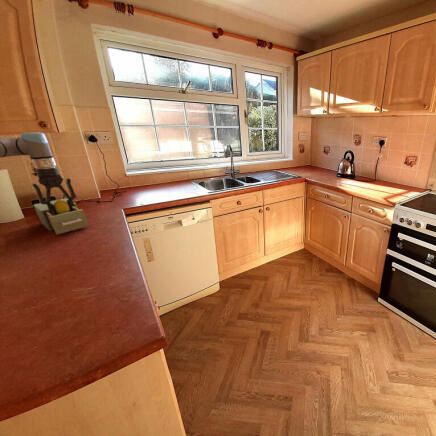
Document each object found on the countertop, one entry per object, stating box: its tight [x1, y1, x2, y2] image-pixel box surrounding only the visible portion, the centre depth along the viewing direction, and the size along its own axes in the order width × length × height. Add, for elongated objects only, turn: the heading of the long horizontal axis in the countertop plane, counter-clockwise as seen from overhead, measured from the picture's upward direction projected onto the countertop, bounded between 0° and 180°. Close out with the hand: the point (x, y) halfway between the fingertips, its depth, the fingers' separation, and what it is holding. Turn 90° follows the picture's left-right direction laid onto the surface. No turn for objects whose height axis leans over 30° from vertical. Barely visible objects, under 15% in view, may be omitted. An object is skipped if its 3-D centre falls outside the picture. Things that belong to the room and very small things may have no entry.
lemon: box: [54, 199, 70, 214], centre depth 119 cm, size 6×6×8 cm
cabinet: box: [33, 197, 79, 231], centre depth 129 cm, size 18×14×11 cm
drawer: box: [44, 206, 89, 235], centre depth 121 cm, size 22×12×9 cm, turn 54°
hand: (64, 214), depth 121 cm, fingers closed on lemon, 5 cm apart
